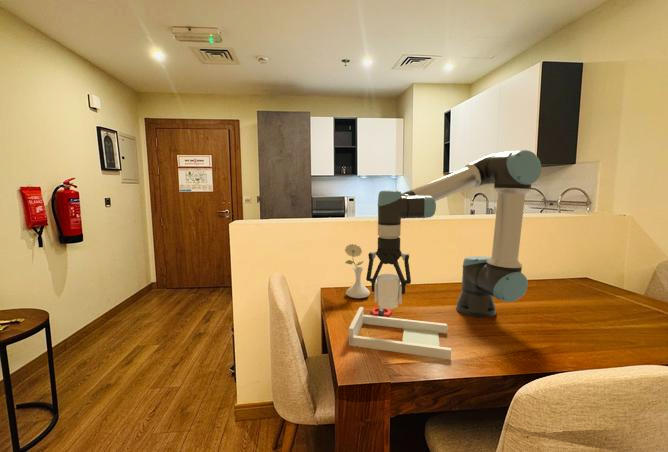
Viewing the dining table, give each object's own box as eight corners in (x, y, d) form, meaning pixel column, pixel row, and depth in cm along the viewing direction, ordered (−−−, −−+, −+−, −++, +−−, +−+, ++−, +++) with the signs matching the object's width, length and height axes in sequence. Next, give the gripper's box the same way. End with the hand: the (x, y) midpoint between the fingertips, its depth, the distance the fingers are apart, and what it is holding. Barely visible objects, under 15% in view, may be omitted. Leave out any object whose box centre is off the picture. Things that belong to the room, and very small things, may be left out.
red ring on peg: (371, 309, 138) (370, 317, 128) (372, 279, 136) (371, 285, 127) (391, 310, 136) (391, 318, 127) (392, 280, 135) (392, 286, 126)
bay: (446, 331, 116) (447, 316, 115) (450, 359, 97) (451, 341, 97) (359, 321, 124) (359, 306, 123) (348, 345, 106) (348, 328, 105)
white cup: (374, 301, 114) (374, 274, 113) (396, 300, 115) (396, 273, 113) (379, 310, 106) (379, 281, 105) (402, 309, 107) (403, 280, 106)
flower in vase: (374, 294, 154) (374, 243, 150) (363, 302, 144) (363, 248, 141) (350, 290, 160) (350, 241, 157) (338, 296, 151) (338, 244, 148)
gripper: (420, 235, 108) (418, 300, 111) (361, 233, 113) (361, 295, 117) (420, 239, 101) (418, 308, 104) (356, 237, 106) (356, 302, 109)
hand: (388, 301), depth 110 cm, fingers closed on white cup, 8 cm apart
